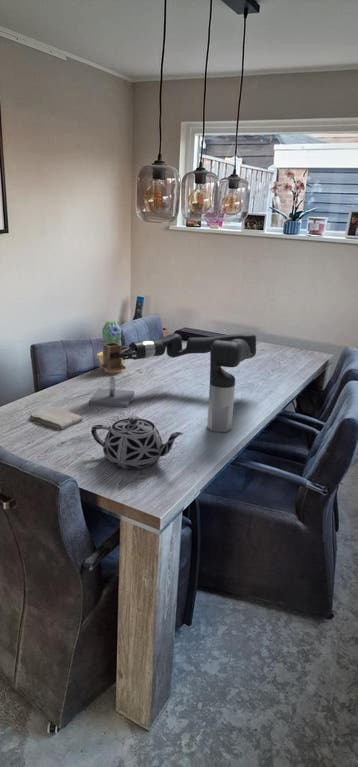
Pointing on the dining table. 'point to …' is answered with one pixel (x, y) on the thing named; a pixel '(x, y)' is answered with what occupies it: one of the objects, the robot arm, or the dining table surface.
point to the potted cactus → (110, 338)
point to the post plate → (111, 396)
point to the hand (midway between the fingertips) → (106, 354)
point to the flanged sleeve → (111, 363)
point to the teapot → (133, 443)
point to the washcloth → (56, 417)
